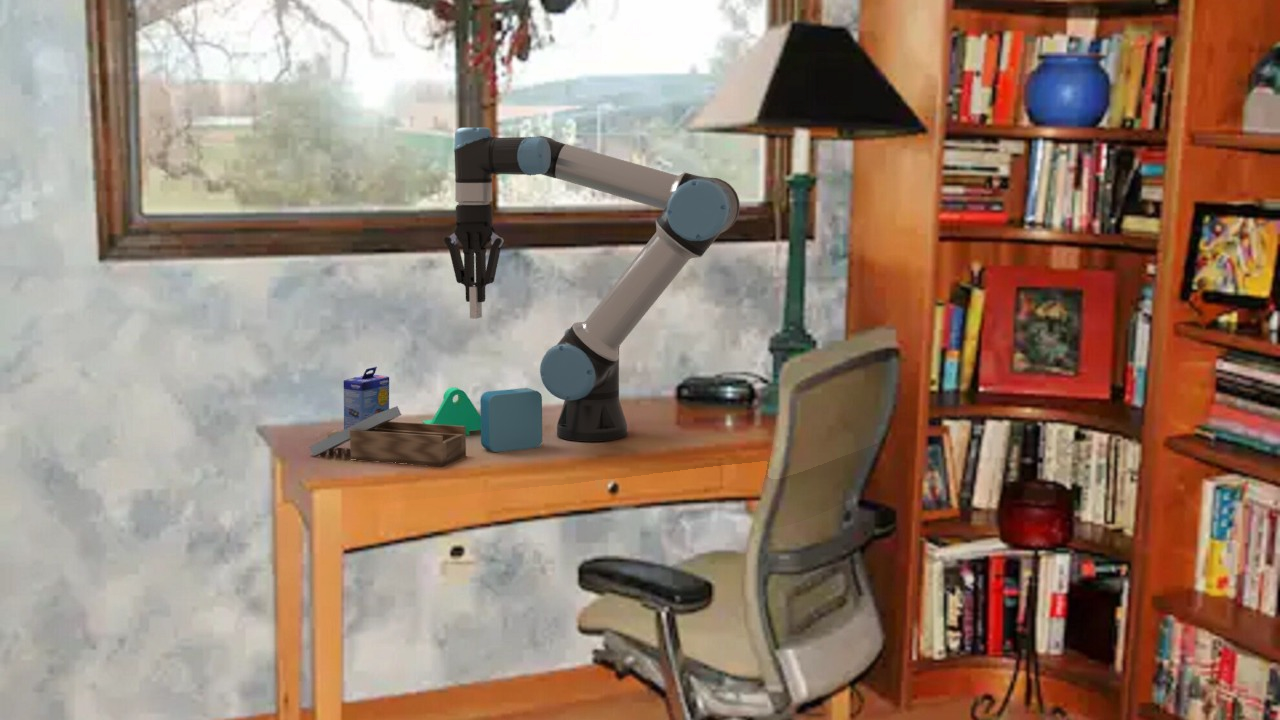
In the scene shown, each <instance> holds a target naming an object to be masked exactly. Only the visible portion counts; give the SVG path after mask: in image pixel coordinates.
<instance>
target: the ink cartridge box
mask: <svg viewBox="0 0 1280 720" xmlns="http://www.w3.org/2000/svg"><path fill="white" fill-rule="evenodd" d="M377 368H378V367H377V366H373V367H370V368H366V369H365V371H364V372H363V375H361V376H355V377H351V378H348V379H344V380H343V430H345V429H347V428H349V427H351V426H353V425H355V424H357V423H359V422H361V421H363V420H365V419H367V418H369V417H371V416H373V415H375V414H377V413H380V412H383V411H385V410H388V409H390V376H386V375H382V374H376V371H377ZM371 371H372V372H371Z"/></svg>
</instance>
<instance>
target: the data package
mask: <svg viewBox="0 0 1280 720" xmlns="http://www.w3.org/2000/svg"><path fill="white" fill-rule="evenodd" d="M479 400H480V401H479V402H480V403H479V405H480V416H481V430H480V443H481V446H482V447H483V449H486V450H488V451H491V452H493V453H496V454H497V453H504V452H513V451H522V450H531V449H537V448H539V447H540V446H541V445H542V443H543V396H542V393H540V391H538V390H535V389H532V388H528V387H524V388H523V387H521V388H512V389H501V390H490V391H489V390H488V391H486V392H483V394H482V395H481V396H480V399H479Z"/></svg>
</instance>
